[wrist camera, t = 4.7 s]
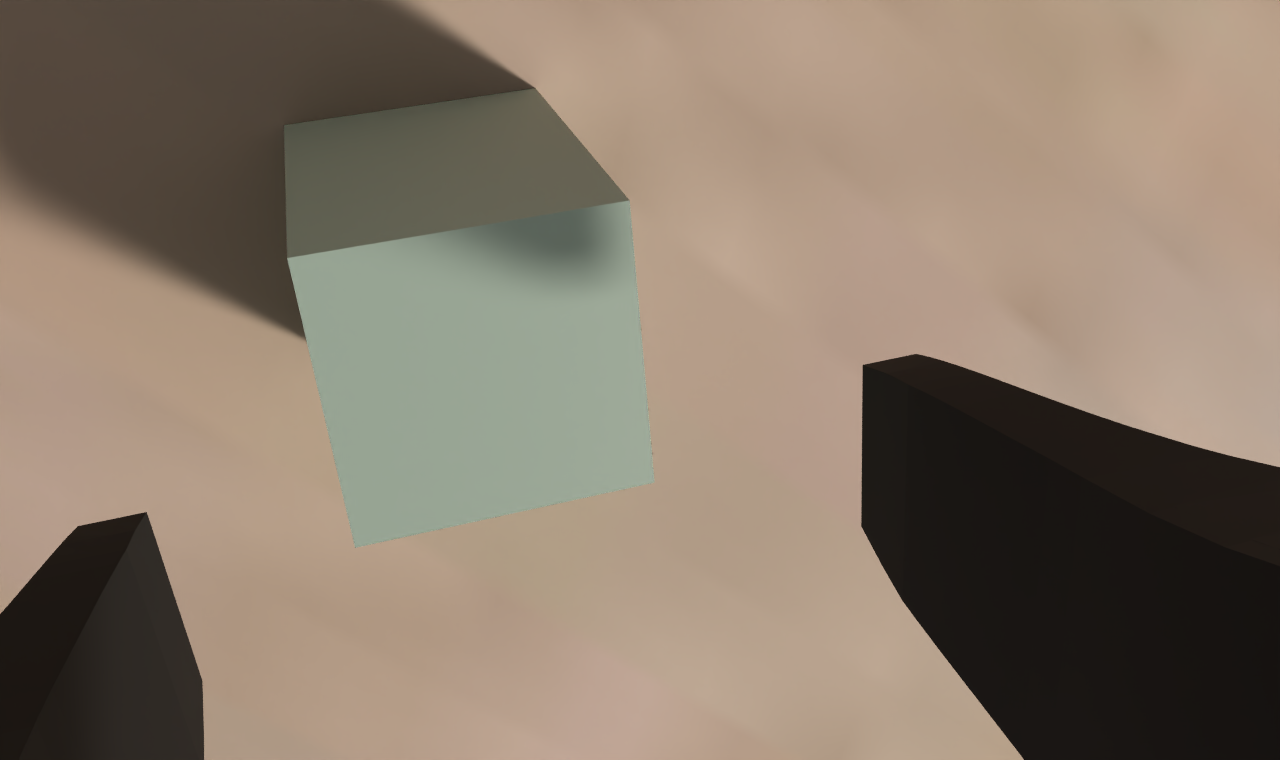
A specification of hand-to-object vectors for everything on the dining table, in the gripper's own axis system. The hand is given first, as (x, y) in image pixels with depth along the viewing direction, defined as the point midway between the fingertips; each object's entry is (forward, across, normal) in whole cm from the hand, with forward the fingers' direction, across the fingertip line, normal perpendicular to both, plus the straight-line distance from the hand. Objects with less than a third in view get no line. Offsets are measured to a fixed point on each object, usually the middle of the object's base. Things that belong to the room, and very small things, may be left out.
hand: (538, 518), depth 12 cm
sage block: (+9, 0, 0) cm, 9 cm away
